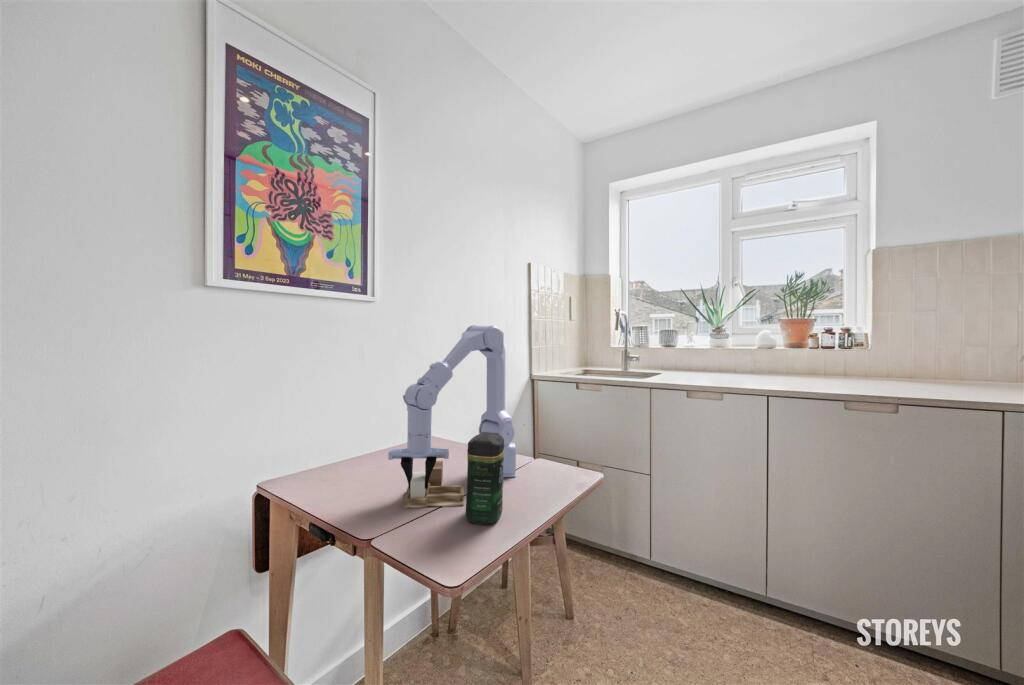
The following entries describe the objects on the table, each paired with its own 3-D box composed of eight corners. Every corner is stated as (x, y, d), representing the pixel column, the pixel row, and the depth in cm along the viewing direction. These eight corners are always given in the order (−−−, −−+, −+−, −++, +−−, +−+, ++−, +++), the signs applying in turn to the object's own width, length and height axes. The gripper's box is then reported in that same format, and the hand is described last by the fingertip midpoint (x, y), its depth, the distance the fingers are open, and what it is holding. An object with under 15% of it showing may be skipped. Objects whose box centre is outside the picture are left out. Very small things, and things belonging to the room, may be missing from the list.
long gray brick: (426, 490, 102) (426, 471, 102) (423, 502, 95) (424, 481, 95) (413, 491, 102) (414, 471, 102) (410, 502, 95) (410, 482, 95)
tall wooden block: (441, 486, 107) (441, 468, 107) (429, 486, 106) (429, 469, 106) (442, 477, 113) (442, 460, 113) (431, 477, 113) (431, 460, 113)
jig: (463, 489, 105) (463, 482, 105) (463, 505, 95) (463, 498, 95) (409, 490, 103) (409, 483, 103) (403, 507, 93) (403, 500, 93)
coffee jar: (497, 528, 85) (499, 441, 84) (461, 524, 86) (463, 439, 85) (505, 508, 94) (507, 430, 94) (473, 505, 95) (475, 428, 95)
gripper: (386, 437, 93) (385, 494, 94) (448, 436, 95) (447, 492, 95) (391, 429, 100) (390, 483, 101) (449, 429, 102) (448, 481, 102)
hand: (418, 487), depth 98 cm, fingers closed on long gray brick, 3 cm apart
